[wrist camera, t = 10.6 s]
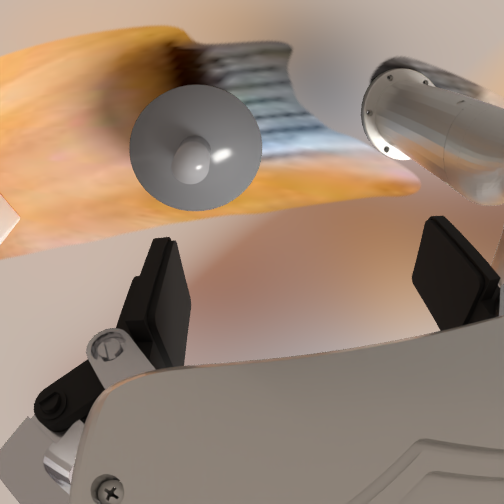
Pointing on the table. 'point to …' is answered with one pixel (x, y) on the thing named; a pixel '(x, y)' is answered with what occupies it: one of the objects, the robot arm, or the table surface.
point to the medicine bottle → (6, 218)
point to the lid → (195, 147)
